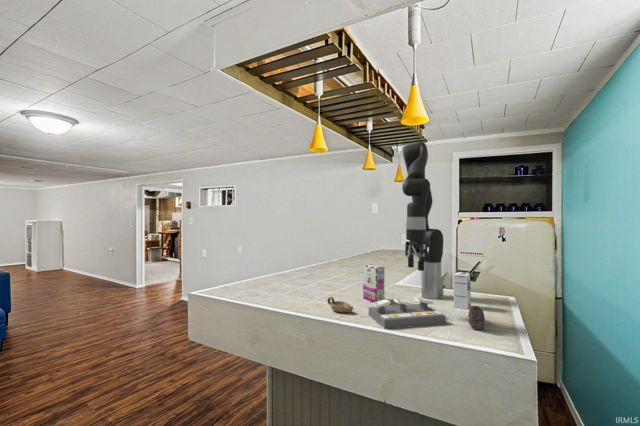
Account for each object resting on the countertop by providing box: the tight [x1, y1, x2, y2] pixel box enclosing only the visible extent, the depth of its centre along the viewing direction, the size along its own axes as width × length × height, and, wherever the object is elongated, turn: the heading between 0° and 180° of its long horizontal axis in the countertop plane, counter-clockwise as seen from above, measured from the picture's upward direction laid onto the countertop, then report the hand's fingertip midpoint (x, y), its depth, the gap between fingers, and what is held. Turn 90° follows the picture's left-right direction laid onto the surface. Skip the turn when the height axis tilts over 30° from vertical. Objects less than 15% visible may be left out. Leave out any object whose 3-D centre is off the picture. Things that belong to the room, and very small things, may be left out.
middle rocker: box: [393, 298, 413, 306], centre depth 126 cm, size 6×4×1 cm, turn 102°
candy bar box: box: [362, 263, 385, 303], centre depth 151 cm, size 11×5×16 cm, turn 25°
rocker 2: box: [414, 296, 434, 305], centre depth 128 cm, size 6×4×1 cm, turn 102°
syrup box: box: [452, 271, 472, 310], centre depth 140 cm, size 6×6×14 cm
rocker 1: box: [372, 298, 391, 308], centre depth 124 cm, size 6×4×1 cm, turn 102°
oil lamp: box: [327, 296, 354, 313], centre depth 135 cm, size 13×8×5 cm, turn 43°
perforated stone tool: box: [467, 305, 486, 330], centre depth 117 cm, size 15×5×7 cm, turn 153°
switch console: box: [368, 302, 446, 329], centre depth 124 cm, size 24×16×5 cm, turn 102°
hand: (415, 268), depth 128 cm, fingers open, 8 cm apart
